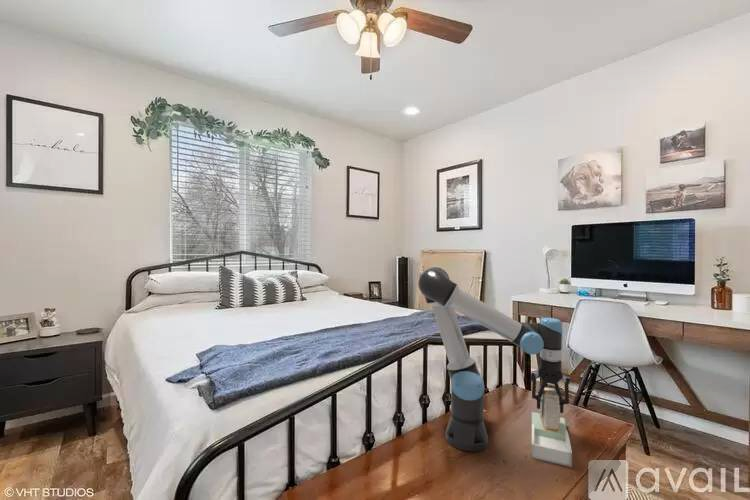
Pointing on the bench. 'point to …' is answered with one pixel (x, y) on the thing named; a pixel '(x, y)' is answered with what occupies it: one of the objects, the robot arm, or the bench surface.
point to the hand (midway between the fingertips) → (549, 418)
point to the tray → (552, 449)
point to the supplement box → (550, 409)
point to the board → (541, 430)
